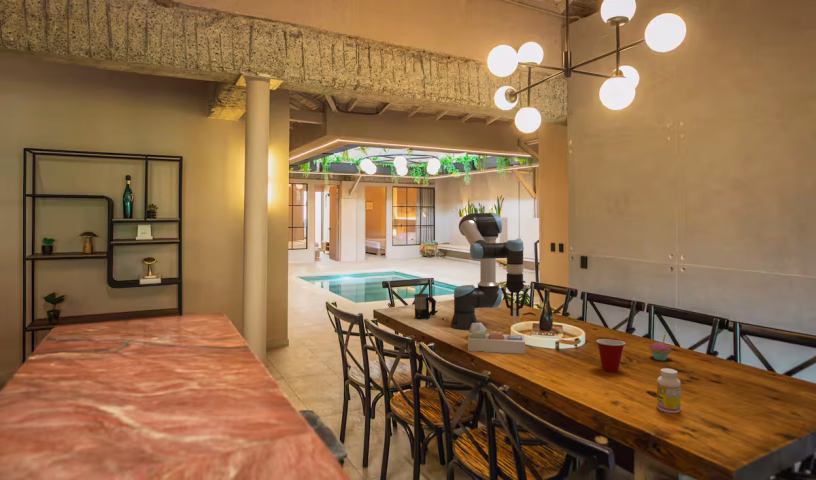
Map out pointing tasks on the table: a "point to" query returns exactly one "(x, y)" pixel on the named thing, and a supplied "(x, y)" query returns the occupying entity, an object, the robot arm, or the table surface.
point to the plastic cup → (610, 354)
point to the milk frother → (424, 306)
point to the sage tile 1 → (478, 334)
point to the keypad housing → (496, 344)
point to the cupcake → (660, 350)
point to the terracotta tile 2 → (496, 335)
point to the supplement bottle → (668, 391)
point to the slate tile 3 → (514, 337)
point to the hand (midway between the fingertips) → (514, 322)
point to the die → (477, 327)
